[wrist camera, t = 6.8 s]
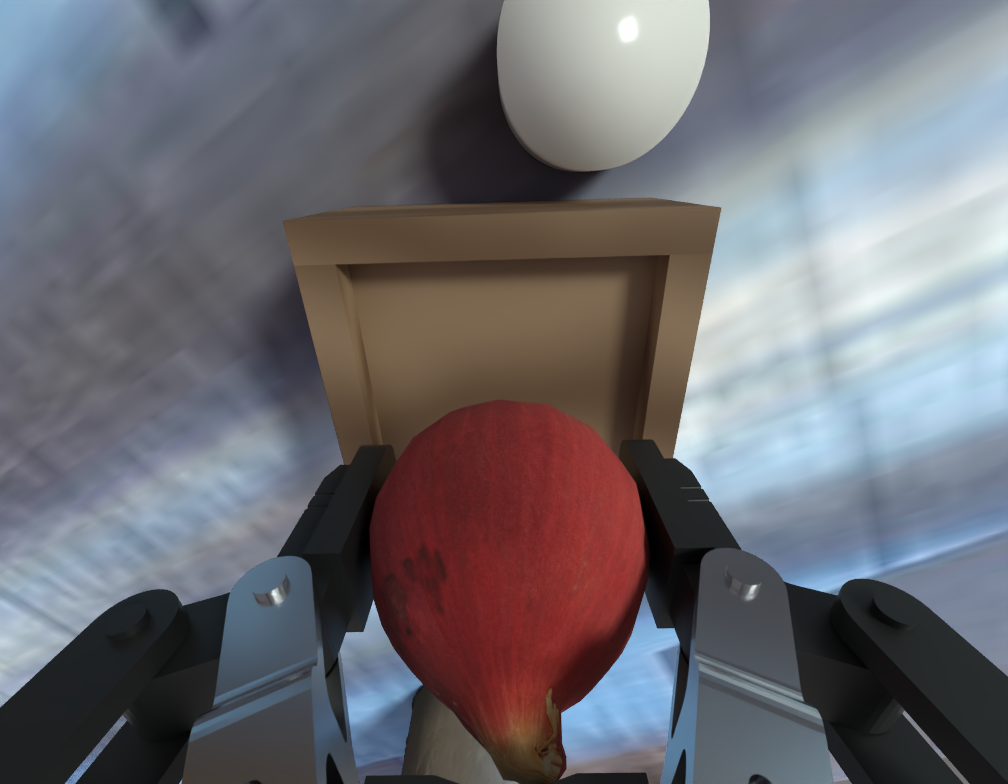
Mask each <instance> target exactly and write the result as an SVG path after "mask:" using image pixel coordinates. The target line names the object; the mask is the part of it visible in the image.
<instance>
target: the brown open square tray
mask: <svg viewBox="0 0 1008 784" xmlns="http://www.w3.org/2000/svg"><path fill="white" fill-rule="evenodd" d="M720 212H721V208H720V207H713V206H706V205H699V204H692V203H685V202H678V201H671V200H664V199H657V198H627V199H594V200H561V201H529V202H496V203H463V204H431V205H398V206H365V207H350V208H345V209H340V210H335V211H330V212H325V213H320V214H315V215H310V216H305V217H300V218H295V219H290V220H285V221H283V224H284V228H285V232H286V236H287V240H288V244H289V248H290V252H291V256H292V260H293V264H294V268H295V272H296V276H297V280H298V284H299V288H300V292H301V296H302V300H303V304H304V308H305V311H306V315H307V319H308V323H309V327H310V331H311V335H312V339H313V343H314V347H315V351H316V355H317V359H318V363H319V367H320V371H321V375H322V379H323V383H324V387H325V391H326V395H327V399H328V403H329V407H330V410H331V414H332V418H333V422H334V426H335V430H336V434H337V438H338V442H339V446H340V450H341V454H342V458H343V462H344V465H350V464H351V462H352V460H353V458H354V456H355V455H356V453H357V451H358V449H359V447H360V446H361V445H389V444H390V445H392V447H393V450H394V454H395V459H396V462H397V460H398V459H399V457H400V456H401V454H402V453H403V451H404V450H405V448H406V447H407V446H408V444H409V443H410V441H411V440H412V438H413V437H414V436H416V435H417V434H419V433H420V432H422V431H423V430H424V429H426V428H427V427H429V426H430V425H432V424H433V423H435V422H436V421H438V420H439V419H440V418H442V417H443V416H445V415H446V414H448V413H449V412H452V411H454V410H457V409H460V408H462V407H466V406H470V405H475V404H479V403H484V402H488V401H493V400H498V399H504V400H511V401H518V402H531V403H543V404H549V405H551V406H553V407H555V408H557V409H558V410H560V411H562V412H564V413H566V414H568V415H570V416H572V417H574V418H576V419H578V420H579V421H581V422H583V423H585V424H587V425H589V426H591V427H593V429H594V430H595V431H596V432H597V433H598V434H599V436H600V437H601V438H602V439H603V440H604V442H605V443H606V444H607V445H608V446H609V447H610V449H611V450H612V451H613V452H614V453H615V455H616V456H617V457H618V458H619V450H620V444H621V442H622V440H638V439H652V440H654V442H655V443H656V445H657V447H658V448H659V450H660V452H661V454H662V456H663V457H664V458H673V454H674V449H675V444H676V439H677V433H678V428H679V423H680V418H681V413H682V408H683V403H684V397H685V392H686V387H687V382H688V377H689V372H690V366H691V361H692V356H693V351H694V346H695V341H696V335H697V330H698V325H699V320H700V315H701V310H702V305H703V299H704V294H705V289H706V284H707V279H708V274H709V268H710V263H711V258H712V253H713V248H714V243H715V237H716V232H717V227H718V222H719V217H720Z"/></svg>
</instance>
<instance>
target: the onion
mask: <svg viewBox="0 0 1008 784" xmlns="http://www.w3.org/2000/svg"><path fill="white" fill-rule="evenodd" d="M369 534H370V560H371V577H372V587H373V597H374V602H375V605H376V608H377V612H378V615H379V618H380V621H381V625H382V627H383V629H384V631H385V633H386V634H387V636H388V638H389V640H390V642H391V644H392V646H393V647H394V649H395V651H396V652H397V653H398V655H399V656H400V657H401V659H402V660H403V661H404V662H405V664H406V665H407V666H408V668H409V669H410V670H411V671H412V673H413V674H414V675H415V676H416V677H417V678H418V679H419V680H420V681H421V682H422V684H423V685H424V686H425V687H426V688H427V689H428V690H429V691H430V692H431V693H432V694H433V695H434V696H435V697H436V698H437V699H438V700H439V701H440V702H441V703H443V704H444V705H445V706H446V707H447V708H448V709H450V710H451V711H453V712H454V714H455V715H456V717H457V718H458V719H459V721H460V722H461V724H462V725H463V726H464V728H465V729H466V730H467V731H468V732H469V733H470V734H471V735H472V736H473V737H474V738H475V739H476V740H477V741H478V743H479V744H480V745H481V746H482V747H483V748H484V749H485V750H486V751H487V752H488V753H489V754H490V756H491V758H492V760H493V762H494V764H495V766H496V767H497V769H498V771H499V773H500V775H501V777H502V779H503V780H506V781H515V782H517V783H519V784H549V783H552V782H555V781H557V780H559V779H560V777H561V776H562V775H563V773H564V772H565V770H566V755H565V751H564V748H563V745H562V727H561V713H562V712H564V711H565V710H567V709H568V708H570V707H572V706H573V705H575V704H576V703H578V702H580V701H581V700H582V699H583V698H584V697H585V696H586V695H587V694H588V693H589V692H590V691H591V690H592V689H593V688H594V687H595V686H596V684H597V683H598V682H599V681H600V680H601V679H602V678H603V676H604V675H605V674H606V673H607V672H608V671H609V669H610V668H611V667H612V665H613V664H614V663H615V662H616V660H617V659H618V658H619V656H620V655H621V654H622V652H623V650H624V648H625V646H626V644H627V642H628V640H629V638H630V636H631V635H632V631H633V628H634V625H635V621H636V618H637V615H638V611H639V608H640V605H641V601H642V598H643V595H644V591H645V588H646V584H647V581H648V574H649V565H650V555H651V551H650V545H649V540H648V534H647V529H646V524H645V519H644V515H643V510H642V506H641V502H640V498H639V494H638V489H637V485H636V483H635V481H634V480H633V478H632V477H631V475H630V474H629V472H628V471H627V469H626V468H625V466H624V465H623V463H622V462H621V461H620V459H619V458H618V457H617V456H616V455H615V453H614V452H613V451H612V450H611V449H610V447H609V446H608V445H607V444H606V443H605V442H604V440H603V439H602V438H601V437H600V436H599V434H598V433H597V432H596V431H595V430H594V429H593V427H591V426H589V425H587V424H585V423H583V422H581V421H579V420H578V419H576V418H574V417H572V416H570V415H568V414H566V413H564V412H562V411H560V410H558V409H557V408H555V407H553V406H551V405H549V404H543V403H531V402H518V401H511V400H504V399H498V400H493V401H488V402H484V403H479V404H475V405H470V406H466V407H462V408H460V409H457V410H454V411H452V412H449V413H448V414H446V415H445V416H443V417H442V418H440V419H439V420H438V421H436V422H435V423H433V424H432V425H430V426H429V427H427V428H426V429H424V430H423V431H422V432H420V433H419V434H417V435H416V436H414V437H413V438H412V440H411V441H410V443H409V444H408V446H407V447H406V448H405V450H404V451H403V453H402V454H401V456H400V457H399V459H398V460H397V462H396V464H395V466H394V467H393V469H392V471H391V473H390V474H389V476H388V478H387V479H386V481H385V483H384V485H383V486H382V488H381V490H380V492H379V493H378V495H377V497H376V500H375V504H374V509H373V513H372V518H371V522H370V527H369Z"/></svg>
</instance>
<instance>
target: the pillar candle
mask: <svg viewBox="0 0 1008 784" xmlns="http://www.w3.org/2000/svg"><path fill="white" fill-rule="evenodd" d="M401 775H436V776H439V777H442V778H444V779H447V780H450V781H453V782H456V783H459V784H519V783H517V782H515V781H506V780H503V779H502V777H501V775H500V773H499V771H498V769H497V767H496V766H495V764H494V762H493V760H492V758H491V756H490V754H489V753H488V752H487V751H486V750H485V749H484V748H483V747H482V746H481V745H480V744H479V743H478V741H477V740H476V739H475V738H474V737H473V736H472V735H471V734H470V733H469V732H468V731H467V730H466V729H465V728H464V726H463V725H462V724H461V722H460V721H459V719H458V718H457V717H456V715H455V714H454V712H453V711H451V710H450V709H448V708H447V707H446V706H445V705H444V704H443V703H441V702H440V701H439V700H438V699H437V698H436V697H435V696H434V695H433V694H432V693H431V692H430V691H429V690H428V689H427V688H426V687H425V686H424V687H422V688H421V689H420V690H419V691H418V692H417V693H416V695H415V697H414V698H413V702H412V716H411V722H410V728H409V733H408V737H407V739H406V748H405V755H404V763H403V768H402V774H401Z"/></svg>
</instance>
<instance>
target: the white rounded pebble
mask: <svg viewBox="0 0 1008 784" xmlns="http://www.w3.org/2000/svg"><path fill="white" fill-rule="evenodd" d="M709 32H710V11H709V2H708V0H504V3H503V7H502V11H501V16H500V20H499V28H498V36H497V67H498V82H499V94H500V99H501V104H502V108H503V111H504V114H505V118H506V120H507V122H508V124H509V127H510V129H511V131H512V132H513V134H514V136H515V137H516V139H517V140H518V141H519V143H520V144H521V145H522V147H523V148H524V149H525V150H526V151H527V152H528V153H529V154H530V155H532V156H533V157H534V158H536V159H537V160H538V161H540V162H542V163H544V164H545V165H547V166H550V167H552V168H555V169H558V170H563V171H570V172H583V171H597V170H607V169H611V168H615V167H619V166H621V165H624V164H626V163H629V162H631V161H633V160H635V159H637V158H638V157H640V156H642V155H644V154H645V153H646V152H648V151H649V150H651V149H652V148H653V147H655V146H656V145H657V144H658V143H659V142H660V141H661V140H662V139H663V138H664V137H665V136H666V135H667V134H668V133H669V132H670V131H671V129H672V128H673V127H674V126H675V125H676V123H677V122H678V120H679V119H680V118H681V116H682V115H683V113H684V112H685V110H686V108H687V106H688V105H689V103H690V101H691V99H692V97H693V95H694V93H695V90H696V88H697V86H698V83H699V80H700V77H701V74H702V71H703V68H704V64H705V59H706V55H707V50H708V42H709Z"/></svg>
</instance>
